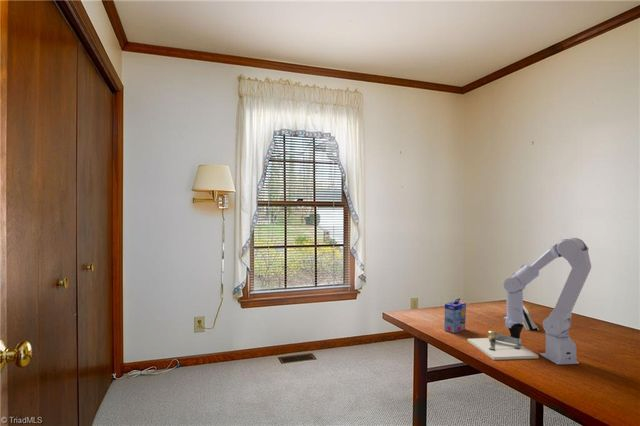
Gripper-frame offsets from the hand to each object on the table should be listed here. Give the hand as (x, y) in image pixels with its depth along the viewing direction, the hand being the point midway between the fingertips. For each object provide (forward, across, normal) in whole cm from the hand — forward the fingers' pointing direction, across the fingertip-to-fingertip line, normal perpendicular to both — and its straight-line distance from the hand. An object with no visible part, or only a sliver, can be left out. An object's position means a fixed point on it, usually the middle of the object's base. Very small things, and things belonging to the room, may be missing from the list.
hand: (515, 342), depth 145 cm
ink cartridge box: (+2, -4, -27) cm, 28 cm away
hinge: (+2, -35, -8) cm, 36 cm away
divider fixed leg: (+1, +7, -6) cm, 10 cm away
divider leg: (+1, +2, -3) cm, 4 cm away
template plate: (+2, +6, -3) cm, 7 cm away
